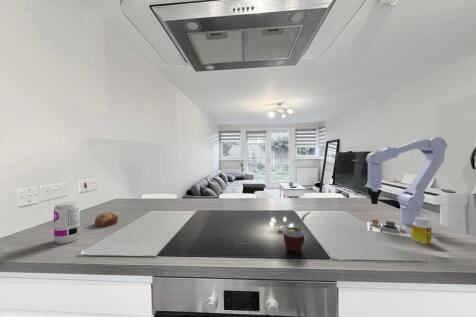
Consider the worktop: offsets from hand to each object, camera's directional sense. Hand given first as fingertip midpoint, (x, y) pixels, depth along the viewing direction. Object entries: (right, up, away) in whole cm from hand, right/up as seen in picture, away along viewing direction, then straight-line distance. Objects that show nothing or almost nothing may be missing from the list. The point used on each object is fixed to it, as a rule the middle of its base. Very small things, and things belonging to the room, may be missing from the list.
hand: (374, 204), depth 104 cm
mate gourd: (-47, -11, -29) cm, 57 cm away
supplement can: (-138, -11, -18) cm, 139 cm away
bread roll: (-135, -11, +2) cm, 135 cm away
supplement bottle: (+3, -11, -24) cm, 26 cm away
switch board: (-1, -11, -10) cm, 14 cm away
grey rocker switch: (+4, -8, -13) cm, 16 cm away
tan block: (-3, -9, -6) cm, 11 cm away
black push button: (-1, -8, -12) cm, 14 cm away
